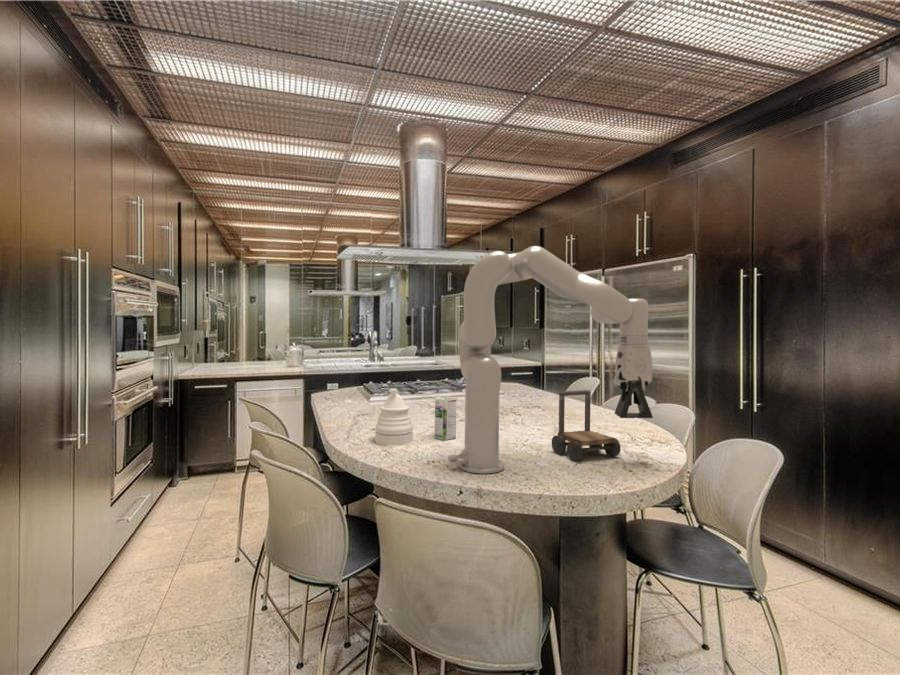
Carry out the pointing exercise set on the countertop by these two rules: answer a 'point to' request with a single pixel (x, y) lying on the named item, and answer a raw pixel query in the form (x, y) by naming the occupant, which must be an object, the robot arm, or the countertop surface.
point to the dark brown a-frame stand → (643, 407)
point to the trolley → (581, 433)
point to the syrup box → (445, 418)
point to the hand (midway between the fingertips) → (632, 404)
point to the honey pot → (394, 422)
